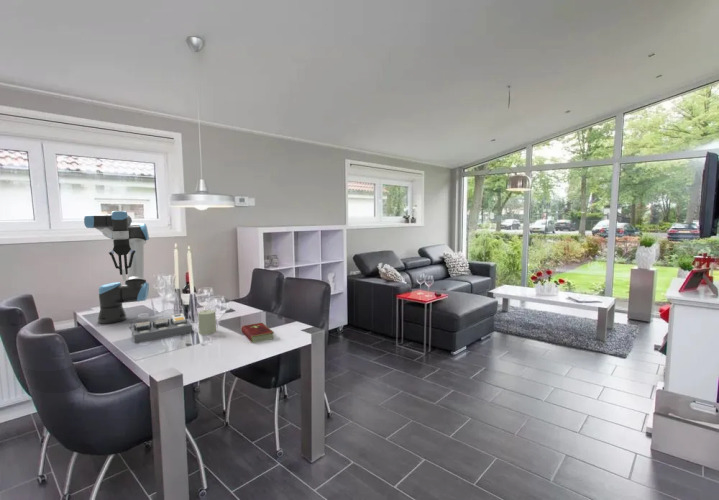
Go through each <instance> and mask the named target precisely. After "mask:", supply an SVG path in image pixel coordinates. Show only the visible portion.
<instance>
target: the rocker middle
mask: <svg viewBox="0 0 719 500" xmlns="http://www.w3.org/2000/svg"><path fill="white" fill-rule="evenodd" d="M168 319H169V318H163V319H158V320H153V321H154V323H155V324H157V323H163V322H168Z"/></svg>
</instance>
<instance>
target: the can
mask: <svg viewBox="0 0 719 500" xmlns="http://www.w3.org/2000/svg"><path fill="white" fill-rule="evenodd" d="M211 310H212V311H211ZM197 314H198V315H197V317H198V334H199V335H204V336H205V335H212V334H215V333H216V332H217V321H216V320H217V319H216V318H217V317H216V310H214V309H206V310H201V311H198V313H197Z"/></svg>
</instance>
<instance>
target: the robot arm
mask: <svg viewBox="0 0 719 500" xmlns="http://www.w3.org/2000/svg"><path fill="white" fill-rule="evenodd" d="M83 222H84V226H85V228H87V229H96V230H98V231H99V232H101V233H102V235H103V236H104V237H107V238H108V239H111V240H112V241H113V248H112V250H110V251H108V255H110V257H111V259H112V262H113V264H114V267H115V269H118V270H119V275H120V276H122V281H123V282H124V283H123V284H122V283H121V281H118V282H117V281H116V282H110V283H106V284H102V285H100V286H99V288H98V298H99V300H98V301H99V308H100V310H99V313H98V315H97V323H99V324H112V323H118V322H122V321H124V320H126V319H127V313H126V311H125V310H124V306H123V304H124V303H125V304H126V303H135V302H143V301H144V302H145V301H146V300H147V299H148V296H149V290H150V283H148V282H147V279H146V278H144V264H145V263H144V253H145V251H144V249H145V248H144V245H146V243H147V241H149V239H150V237H149V231H148V226H147V224H146V223H144V222H133V220H132V217H131V216H130V215H128V212H127V211H126V210H112V211H111V213H110V214H86V215H85V216H84V219H83ZM114 254H116V255H117V256H118V263H117V260H116V258H115V255H114ZM127 255H128V256H127ZM122 256H123V261H124V268H123V265H122V264H123V263H122V262H123V261H122ZM126 275H127V276H126Z"/></svg>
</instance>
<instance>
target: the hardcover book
mask: <svg viewBox="0 0 719 500" xmlns="http://www.w3.org/2000/svg"><path fill="white" fill-rule="evenodd" d="M240 329H241V333H242V334H243V335H244V336H245V338H247V339H248V341H250V343H251V344H253V343H258V342H263V341H268V340H273V339H274V334H275V332H274V331H273V330H272V329H271V328H269V327H268V326H267V325H266V324H265V323H263V322H257V323H251V324H245V325H241V328H240Z"/></svg>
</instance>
